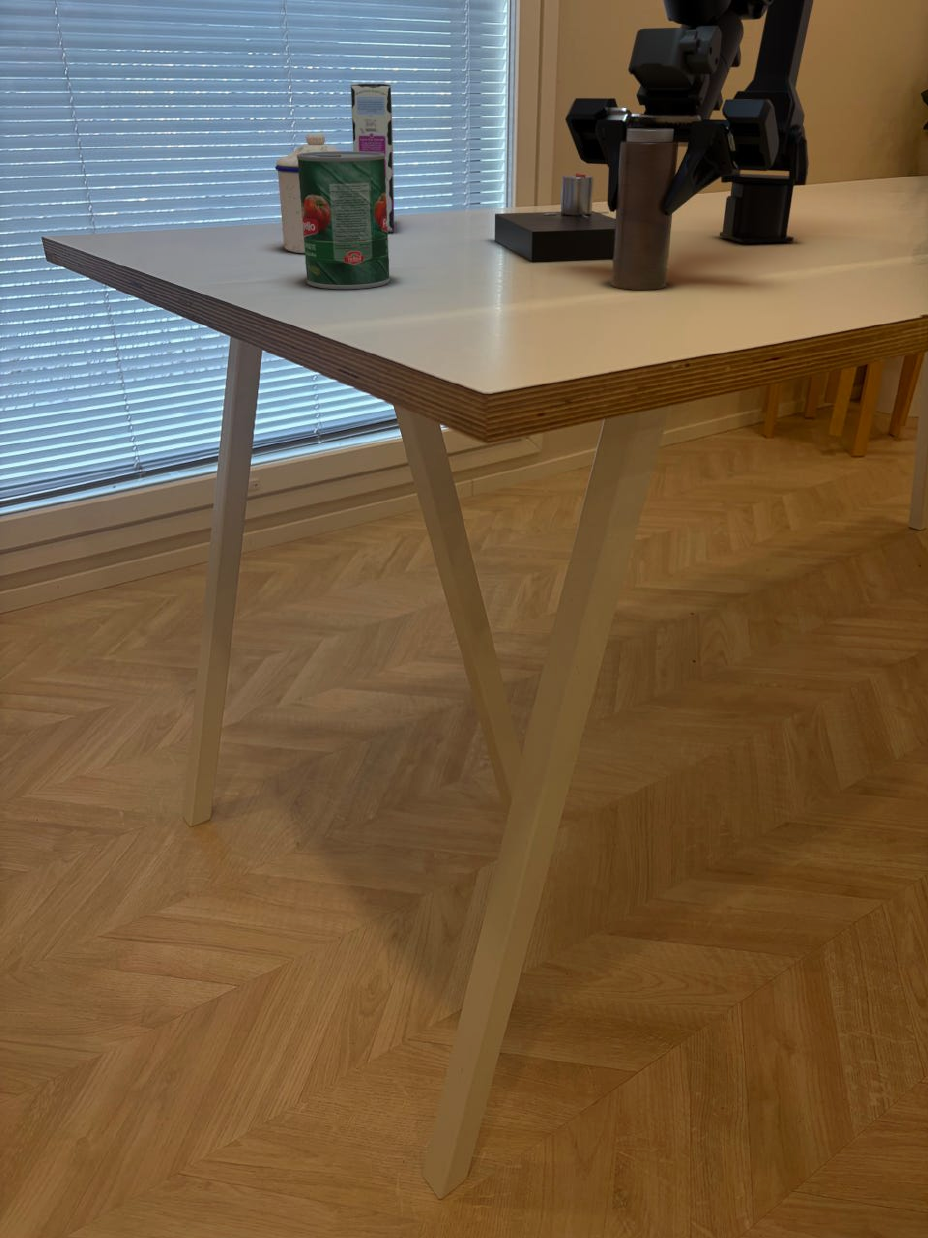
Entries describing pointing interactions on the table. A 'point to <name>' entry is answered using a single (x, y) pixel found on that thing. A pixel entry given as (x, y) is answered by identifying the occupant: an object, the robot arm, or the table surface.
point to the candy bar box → (375, 131)
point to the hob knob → (577, 194)
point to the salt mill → (643, 209)
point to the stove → (556, 235)
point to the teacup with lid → (295, 192)
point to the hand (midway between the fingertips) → (637, 210)
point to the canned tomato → (344, 219)
